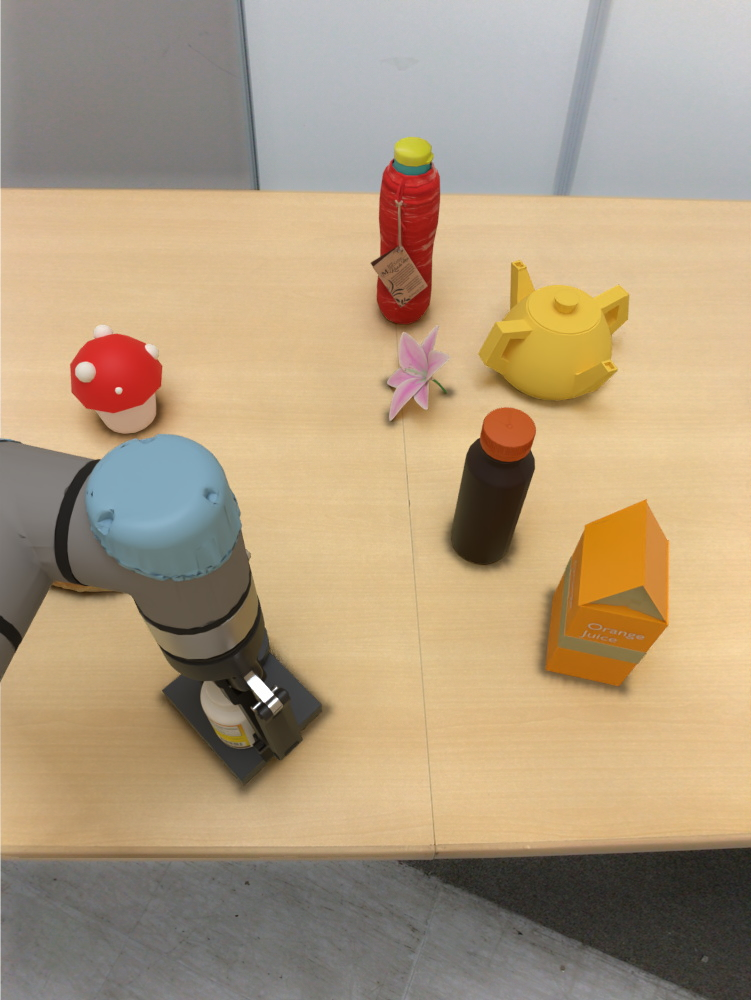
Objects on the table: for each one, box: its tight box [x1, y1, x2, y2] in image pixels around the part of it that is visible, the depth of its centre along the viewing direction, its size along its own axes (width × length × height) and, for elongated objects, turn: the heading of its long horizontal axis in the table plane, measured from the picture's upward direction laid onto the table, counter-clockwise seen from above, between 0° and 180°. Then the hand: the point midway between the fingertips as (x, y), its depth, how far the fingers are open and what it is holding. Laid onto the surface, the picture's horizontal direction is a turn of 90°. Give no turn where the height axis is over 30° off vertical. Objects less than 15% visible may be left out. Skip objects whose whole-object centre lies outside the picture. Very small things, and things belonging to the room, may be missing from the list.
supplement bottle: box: [200, 681, 255, 749], centre depth 66 cm, size 6×6×10 cm
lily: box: [386, 324, 451, 422], centre depth 94 cm, size 12×12×10 cm
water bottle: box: [370, 136, 441, 325], centre depth 95 cm, size 12×8×25 cm, turn 161°
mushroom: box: [69, 324, 163, 435], centre depth 89 cm, size 11×11×12 cm
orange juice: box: [544, 498, 670, 687], centre depth 70 cm, size 8×9×20 cm
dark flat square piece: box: [161, 627, 323, 786], centre depth 72 cm, size 13×11×4 cm
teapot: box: [477, 259, 630, 402], centre depth 95 cm, size 17×17×12 cm
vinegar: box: [450, 406, 537, 565], centre depth 76 cm, size 7×7×20 cm
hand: (246, 718), depth 70 cm, fingers open, 7 cm apart
